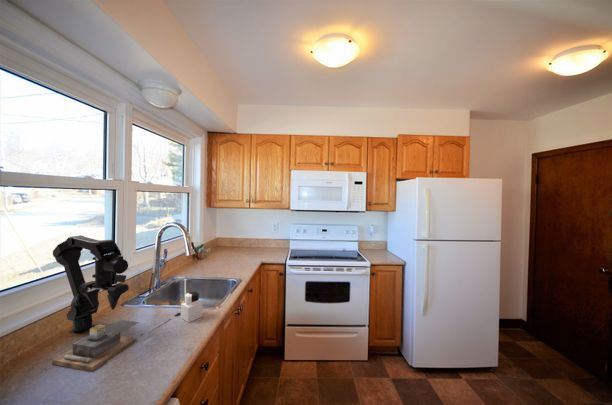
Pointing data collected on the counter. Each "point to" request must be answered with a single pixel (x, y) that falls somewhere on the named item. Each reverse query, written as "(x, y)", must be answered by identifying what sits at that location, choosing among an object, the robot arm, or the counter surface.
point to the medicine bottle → (191, 307)
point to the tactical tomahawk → (164, 322)
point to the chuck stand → (93, 351)
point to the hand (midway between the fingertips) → (104, 308)
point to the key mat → (121, 326)
